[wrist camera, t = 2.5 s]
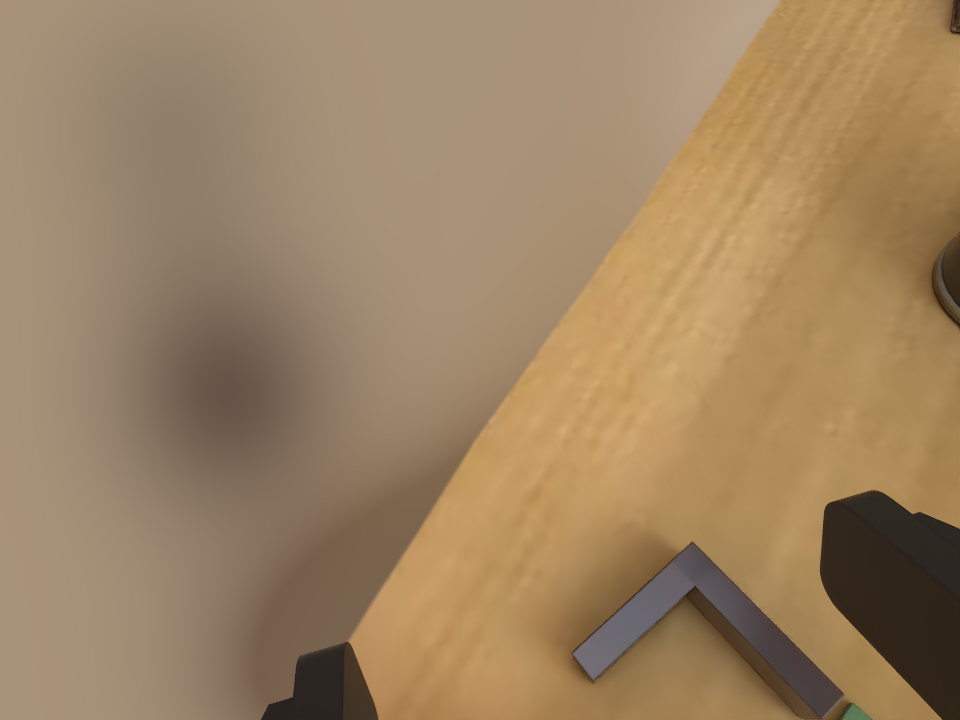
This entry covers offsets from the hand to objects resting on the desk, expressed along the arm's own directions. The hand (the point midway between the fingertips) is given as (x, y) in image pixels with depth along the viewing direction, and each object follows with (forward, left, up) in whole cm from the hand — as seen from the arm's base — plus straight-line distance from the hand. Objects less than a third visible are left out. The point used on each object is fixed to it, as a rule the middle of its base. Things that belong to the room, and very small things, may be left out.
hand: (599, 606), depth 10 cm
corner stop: (-3, +3, -24) cm, 24 cm away
